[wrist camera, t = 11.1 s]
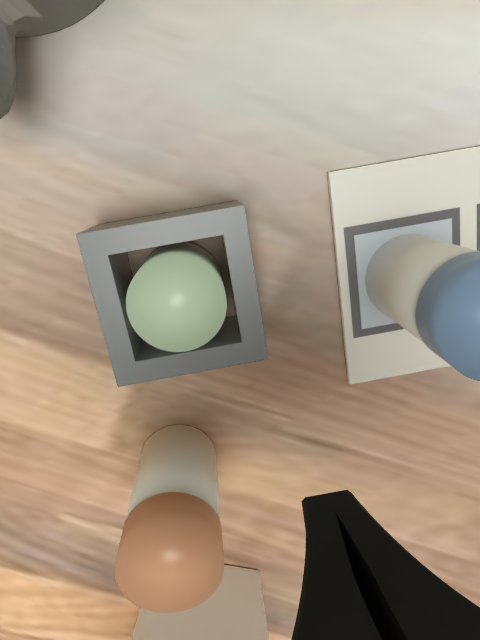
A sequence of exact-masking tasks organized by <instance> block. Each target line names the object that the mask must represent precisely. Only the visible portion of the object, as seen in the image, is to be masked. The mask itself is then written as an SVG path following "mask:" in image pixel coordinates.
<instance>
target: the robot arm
mask: <svg viewBox="0 0 480 640" xmlns="http://www.w3.org/2000/svg"><path fill="white" fill-rule="evenodd" d="M302 507H303V514H304V521H305V528H306V555H305V566H304V575H303V584H302V591H301V597H300V603H299V608H298V613H297V618H296V623H295V627H294V631H293V636H292V640H480V607H478V606H477V605H475V604H474V603H472V602H471V601H469V600H468V599H467V598H465V597H464V596H462V595H461V594H460V593H458V592H457V591H455V590H454V589H453V588H451V587H450V586H449V585H447V584H446V583H445V582H443V581H442V580H441V579H440V578H438V577H437V576H436V575H435V574H433V573H432V572H431V571H430V570H428V569H427V568H426V567H425V566H424V565H422V564H421V563H420V562H419V561H418V560H417V559H416V558H414V557H413V556H412V555H411V554H410V553H409V552H408V551H407V550H405V549H404V548H403V547H402V546H401V545H400V544H399V543H398V542H397V541H396V540H395V539H394V538H393V537H392V536H391V535H390V534H389V533H388V532H387V531H386V530H385V529H384V528H383V527H382V526H381V525H380V524H379V523H378V522H377V521H376V520H375V519H374V518H373V517H372V516H371V515H370V514H369V513H368V512H367V511H366V509H365V508H364V507H363V506H362V505H361V504H360V503H359V501H358V500H357V499H356V498H355V497H354V495H353V494H352V493H351V492H350V491H348V490H344V491H338V492H333V493H327V494H322V495H316V496H311V497H305V498H304V500H303V501H302Z"/></svg>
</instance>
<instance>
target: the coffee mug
mask: <svg viewBox="0 0 480 640" xmlns="http://www.w3.org/2000/svg"><path fill="white" fill-rule="evenodd" d="M103 1H104V0H0V119H1V118H2V117H3V116H4V115H6V114H7V113H8V112H9V110H10V108H11V105H12V103H13V99H14V96H15V91H16V82H17V62H16V45H15V37H30V36H38V35H43V34H47V33H51V32H55V31H59V30H61V29H64V28H66V27H69V26H71V25H73V24H75V23H76V22H78V21H79V20H81V19H83V18H84V17H85V16H87V15H88V14H89V13H91V12H92V11H93V10H94V9H95V8H97V7H98V6H99V5H100V4H101V3H102V2H103Z"/></svg>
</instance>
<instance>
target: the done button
mask: <svg viewBox="0 0 480 640" xmlns="http://www.w3.org/2000/svg"><path fill="white" fill-rule="evenodd" d="M226 310H227V300H226V293H225V288H224V283H223V278H222V274H221V270H220V268H219V265H218V264H217V262H216V260H215V259H214V258H213V257H212V256H211V254H210V253H208V252H207V251H206V250H205V249H203V248H201V247H200V246H197V245H195V244H192V243H187V242H180V243H174V244H169V245H163V246H161V247H159V248H157V249H156V250H154V251H153V252H152V253H151V254H150V255H149V256H148V257H147V259H146V260H145V261H144V263H143V264H142V266H141V267H140V269H139V270H138V272H137V273H136V274H135V276H134V277H133V279H132V281H131V283H130V285H129V287H128V291H127V295H126V311H127V315H128V318H129V321H130V323H131V325H132V327H133V329H134V330H135V332H136V333H137V334H138V335H139V336H140V337H141V338H142V339H143V340H144V341H146V342H147V343H148V344H150V345H152V346H154V347H156V348H158V349H161V350H165V351H169V352H185V351H190V350H194V349H196V348H199V347H201V346H203V345H204V344H206V343H207V342H209V341H210V340H211V339H212V338H213V337H214V336H215V335H216V334H217V333H218V331H219V330H220V328H221V326H222V324H223V322H224V319H225V316H226Z"/></svg>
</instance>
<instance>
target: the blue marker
mask: <svg viewBox="0 0 480 640" xmlns="http://www.w3.org/2000/svg"><path fill="white" fill-rule="evenodd" d="M365 286H366V291H367V294H368V297H369V298H370V300H371V302H372V303H373V304H374V306H375V307H377V308H378V309H379V310H380V311H382V312H383V313H384V314H386V315H387V316H388V317H390V318H391V319H392V320H394V321H395V322H396V323H398V324H399V325H400V326H402V327H403V328H404V329H406V330H407V331H408V332H410V333H411V334H412V335H414V336H415V337H416V338H418V339H419V340H420V341H422V342H423V343H424V344H425V345H426V346H427V347H428V348H429V349H430V350H431V351H433V352H434V353H435V354H436V355H438V356H439V357H440V358H442V359H443V360H444V361H446V362H447V363H448V364H450V365H451V366H452V367H454V368H455V369H456V370H458V371H459V372H460V373H462V374H463V375H465V376H467V377H469V378H471V379H474V380H478V381H480V251H477V250H473V249H470V248H466V247H462V246H458V245H455V244H451V243H447V242H443V241H440V240H436V239H432V238H428V237H425V236H420V235H414V234H408V235H401V236H398V237H395V238H393V239H391V240H389V241H388V242H386V243H385V244H383V245H382V246H381V247H380V248H379V249H378V250H377V251H376V252H375V254H374V255H373V256H372V258H371V260H370V262H369V264H368V267H367V270H366V275H365Z"/></svg>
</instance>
